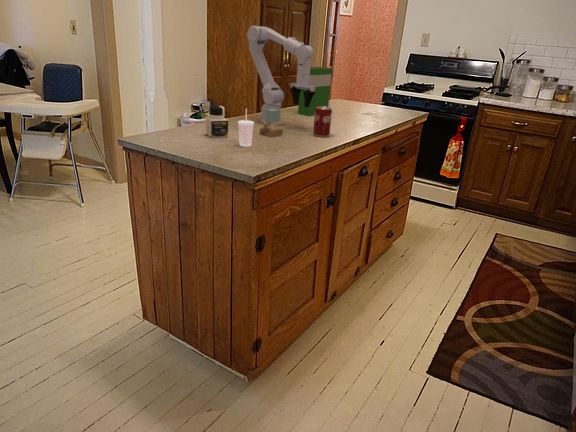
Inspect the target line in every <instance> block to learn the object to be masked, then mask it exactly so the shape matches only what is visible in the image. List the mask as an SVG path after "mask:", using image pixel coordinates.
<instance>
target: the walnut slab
mask: <svg viewBox="0 0 576 432" xmlns="http://www.w3.org/2000/svg"><path fill="white" fill-rule="evenodd" d="M283 130H284V129H283V128H280V129H277V130H268V129H264V128H263V127H261V128H260V127H259V135H261V136H266V137H269V138H276V137H280V136H284V131H283Z"/></svg>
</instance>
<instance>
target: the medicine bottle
mask: <svg viewBox="0 0 576 432" xmlns="http://www.w3.org/2000/svg"><path fill="white" fill-rule="evenodd" d="M208 108H209V113H208V114H209V116H206V117H205V134H206V135H208V136H209V137H210V138H212V139H214V138H215V139H216V138H228V137H229V119H227V118H226V117H225V116H226V115H225V112H226V111H225V110H226V109H225V107H224V106H222V105H217V104H215V105H211V106H209V107H208Z"/></svg>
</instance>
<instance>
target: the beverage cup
mask: <svg viewBox="0 0 576 432" xmlns="http://www.w3.org/2000/svg"><path fill="white" fill-rule="evenodd" d="M237 124H238V140H239V146H240V147H245V148H247V147H251V146H252V144H253V131H254V125H255V121H252V120H248V108H245V119H242V120H238V121H237Z"/></svg>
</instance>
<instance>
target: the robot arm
mask: <svg viewBox="0 0 576 432" xmlns="http://www.w3.org/2000/svg"><path fill="white" fill-rule="evenodd" d="M246 37H247V40H248V50H249V53H250V55H251V58H252V61H253V63H254V65H255V68H256V71H257V74H258V75H259V79H260V80H261V83H262V86H263V87H262V90H261V92H262V99H263V102H264V104H263V105H261V110H260V111H261V112H260V120H259V122H260V123H262V124H263V121H265V119H266V109H276V110H279V122H280V125H284V124H285V123H284V122H281V113H282V110H281V109H282V103H283V101H284V99H285V93H284V91H283V90H282V89H281V87H280V85H279V84H277V82H275V80H274V78H273V75H272V71H271V70H270V67H269V65H268V61H267V60H266V57H265V55H264V52H263V49H264V46H265V44H267V42H268V41H269V40H271V41H273V42H275V43H278V44H279V45H280V46H281V45H282V46H283V49H284V50H285V51H287V52H289V53H290V54H292V55H294V56H295V57H296V59H297V61H296V62H297V68H296V83H295V82H290V88H289V92H290V94H291V97H292V101H293V105H297V106H299V96H300V92H301V90H302V89H303V90H307V91H303V94H304V105H305V107H309V105H310V102H311V100H312V97H313V96H314V94H315V92H314V91H315V87H314V86H310V85H309V78H310V67H311V61H312V60H311V59H312V58H313V56H314V52H315V51H314V49H313V47H312V46H311V45H309V44H308V45H305V43H304V42H303V41H298V40H297V39H296V37H295V36H294V37H293V36H292V37H291V36H290V37H286V36H284V35H282V34H280V33H279V32H277V31H275V30H274V29H273V28H271V27H267V26H261V25H259V26H258V25H257V26H256V25H251V26H250V27H249V28H248V30H247V33H246ZM300 87H302V88H300Z"/></svg>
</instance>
